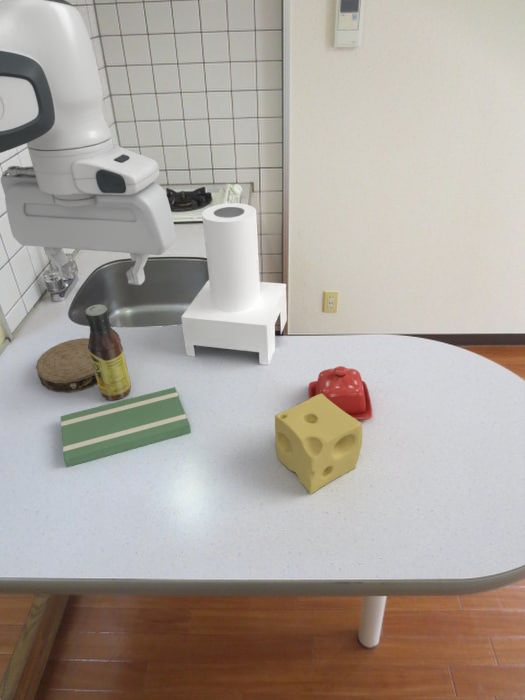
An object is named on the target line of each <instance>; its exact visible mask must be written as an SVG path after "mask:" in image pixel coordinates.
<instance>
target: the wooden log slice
mask: <svg viewBox="0 0 525 700" xmlns="http://www.w3.org/2000/svg"><path fill="white" fill-rule="evenodd" d="M88 344H89V338H87V337H83V338H82V337H81V338H76V339H70V340H67V341H64V342H60V343H58V344H56V345H54V346H52V347H49V348H48V349H47V350H46V351H45V352H43V353H42V354H41V355H40V356H39V358H38V359H37V360H36V364H35V370H36V373H37V375H38V379H39V381H40V384H41V385H42V387H44V388H45V389H47V390H48V391H52V392H55V393H75V392H83V391H84V390H87V389H90V388H93V387H96V386H97V385H98V382H97V379H96V375H95V372H94V368H93V364H92V361H91V357H90V354H89V350H88Z"/></svg>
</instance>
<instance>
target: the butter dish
mask: <svg viewBox="0 0 525 700" xmlns="http://www.w3.org/2000/svg"><path fill="white" fill-rule="evenodd" d="M319 394H323V395H324V396H325V397H326V398H327V399H329V400H330V401H331V402H332V403H334V404H335V405H336V406H338V407H339V408H340V409H341V410H343V411H344V412H345V413H347V414H348V415H350V416H352V417H353V418H355V419H356V420H368V419H371V418H373V407H372V402H371V397H370V393H369V389H368V385H367V383H366V382H365V381H364V380H363V379H362V376H361V373H360V371H358V370H357V369H355V368H350V367H346V366H344V365H343V366H341V365H340V366H336V367H334V368H327V369H324V370H322V371H320V372H319V374H318V376H317V380H313V381H311V382H309V384H308V399H310V398H312V397H314V396H316V395H319Z"/></svg>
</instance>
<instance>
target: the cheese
mask: <svg viewBox="0 0 525 700" xmlns="http://www.w3.org/2000/svg"><path fill="white" fill-rule="evenodd" d="M274 432H275V433H274V441H275V452H276V458H277V459H278V460H279V461H280V462H281V463H282V464H283V466H285V468H287V469H288V470H289V471H290V472H291V473H295V474H296V476H297V479H298V481H299V482H300V484H301V485H302V486H303V487H304V488H305V490H306V491H307V492H308V493H309V494H310V495H312V494H314V493H316V492H317V491H319V490H320V489H321V488H323V487H325V486H326V485H328V484H329V483H331V482H333V481H335V480H336V479H338V478H339V477H342V476H344V475H345V474H347V473H348V472H351V471H353V470H355V469H356V467H357V463H358V460H359V457H360V455H361V451H362V450H361V449H362V444H363V424H362V422H361V421H359V419H355V418H353V417H352V416H350V415H348V414H347V413H345V412H344V411H343V410H341V409H340V408H339V407H338V406H336V405H335V404H334V403H332V402H331V401H330V400H329V399H327V398H326V397H325V396H324V395H323V394H319V395H316V396H314V397H312V398H310V399H309V398H308V399H306V400H304V401H303V402H301V403H299V404H297V405H295V406H292V407H290V408H288V409H287V410H284V411H281V412H279V413H277V414H275V415H274Z"/></svg>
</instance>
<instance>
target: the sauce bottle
mask: <svg viewBox="0 0 525 700" xmlns="http://www.w3.org/2000/svg"><path fill="white" fill-rule="evenodd" d="M84 314H85V318H86V320H87V322H88V326H89V344H88V350H89V354H90V357H91V361H92V364H93V368H94V372H95V375H96V379H97V382H98V384H97V385H98V386H97V387H98V389H99V392H100V394H101V395H102V397H103V398H105V400H108V401H117V400H121V399H123V398H126V397H127V396H128V395H129V394H130V392H131V389H132V385H131V378H130V374H129V369H128V366H127V361H126V356H125V351H124V348H123V345H122V342H121V341H122V340H121V337H120V334H119V333H118V332H117V331H116V330H115V329H114V328H112V323H111V321H110V317H109V316H110V312H109V308H108V306H107V305H104V304H99V303H97V304H93V305H90V306H89V307H87V308H86V309H85V311H84Z"/></svg>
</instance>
